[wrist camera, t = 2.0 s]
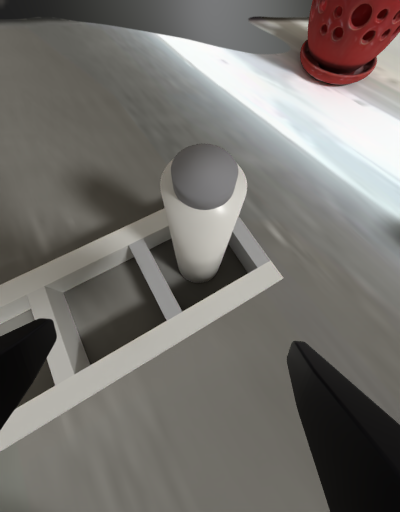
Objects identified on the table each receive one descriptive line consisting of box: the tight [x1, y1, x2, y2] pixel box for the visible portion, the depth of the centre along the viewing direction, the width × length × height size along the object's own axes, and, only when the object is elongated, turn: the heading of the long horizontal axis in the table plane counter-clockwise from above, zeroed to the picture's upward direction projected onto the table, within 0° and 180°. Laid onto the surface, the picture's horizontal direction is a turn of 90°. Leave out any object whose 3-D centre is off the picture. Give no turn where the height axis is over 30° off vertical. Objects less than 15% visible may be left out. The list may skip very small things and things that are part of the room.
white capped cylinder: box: [160, 144, 247, 283], centre depth 17 cm, size 4×4×14 cm
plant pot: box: [300, 0, 400, 84], centre depth 30 cm, size 13×13×12 cm
